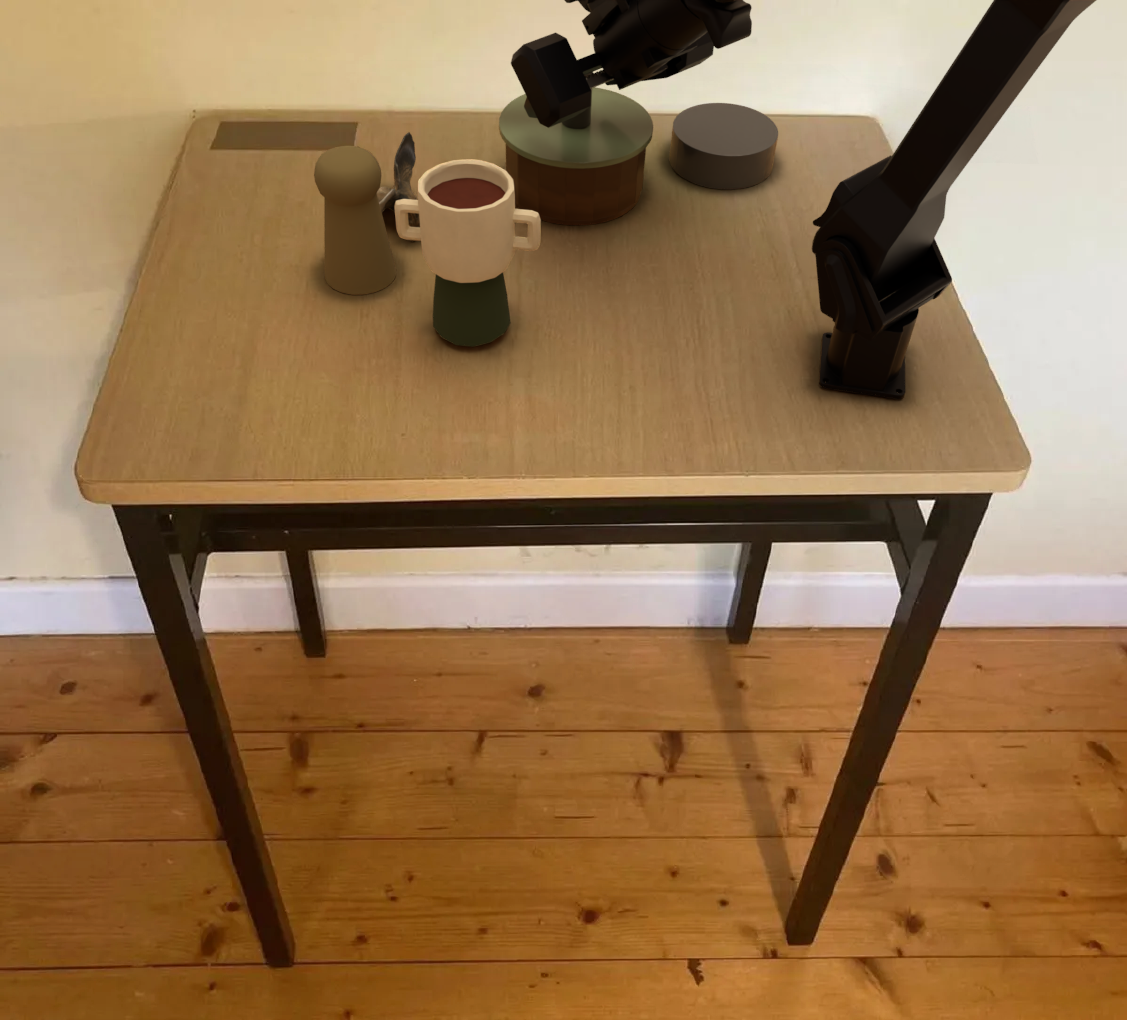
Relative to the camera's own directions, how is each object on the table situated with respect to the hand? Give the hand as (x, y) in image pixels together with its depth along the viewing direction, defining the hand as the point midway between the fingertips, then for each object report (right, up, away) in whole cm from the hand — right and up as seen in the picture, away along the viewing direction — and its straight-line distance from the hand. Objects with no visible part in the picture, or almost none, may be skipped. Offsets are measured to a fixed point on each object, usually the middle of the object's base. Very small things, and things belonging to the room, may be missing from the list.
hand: (567, 95), depth 99 cm
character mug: (-8, -22, -9) cm, 25 cm away
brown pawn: (-18, -17, -4) cm, 25 cm away
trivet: (+15, -3, +10) cm, 18 cm away
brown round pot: (+1, -7, +6) cm, 9 cm away
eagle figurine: (-15, -11, +2) cm, 18 cm away
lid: (+1, -2, +1) cm, 3 cm away
